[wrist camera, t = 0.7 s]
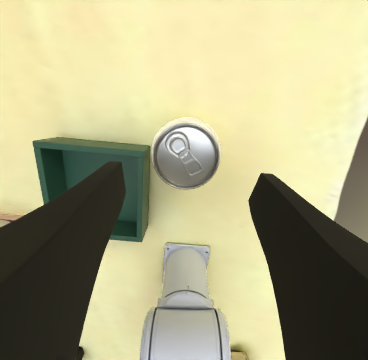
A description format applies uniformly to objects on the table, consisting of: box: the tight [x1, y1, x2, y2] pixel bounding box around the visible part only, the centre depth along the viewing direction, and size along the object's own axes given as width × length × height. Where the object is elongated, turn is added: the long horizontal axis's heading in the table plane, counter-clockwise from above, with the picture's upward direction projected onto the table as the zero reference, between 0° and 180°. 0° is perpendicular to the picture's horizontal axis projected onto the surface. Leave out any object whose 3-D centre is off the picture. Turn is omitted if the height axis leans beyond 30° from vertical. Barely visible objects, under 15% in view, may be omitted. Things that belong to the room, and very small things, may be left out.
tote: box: [33, 137, 150, 242], centre depth 26 cm, size 14×14×5 cm
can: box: [151, 117, 221, 190], centre depth 21 cm, size 6×6×12 cm
